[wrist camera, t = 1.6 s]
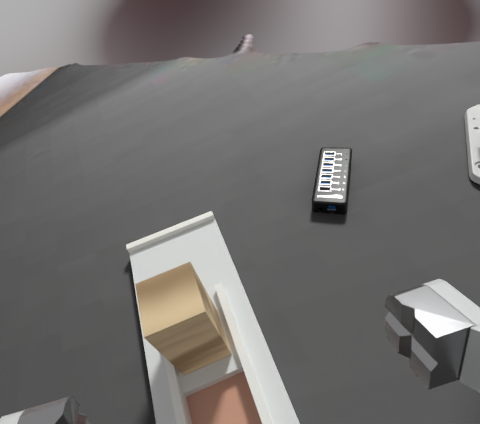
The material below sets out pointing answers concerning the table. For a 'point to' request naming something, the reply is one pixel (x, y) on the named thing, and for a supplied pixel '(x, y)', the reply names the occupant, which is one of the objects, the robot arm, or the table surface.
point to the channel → (236, 330)
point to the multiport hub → (332, 181)
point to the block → (181, 319)
